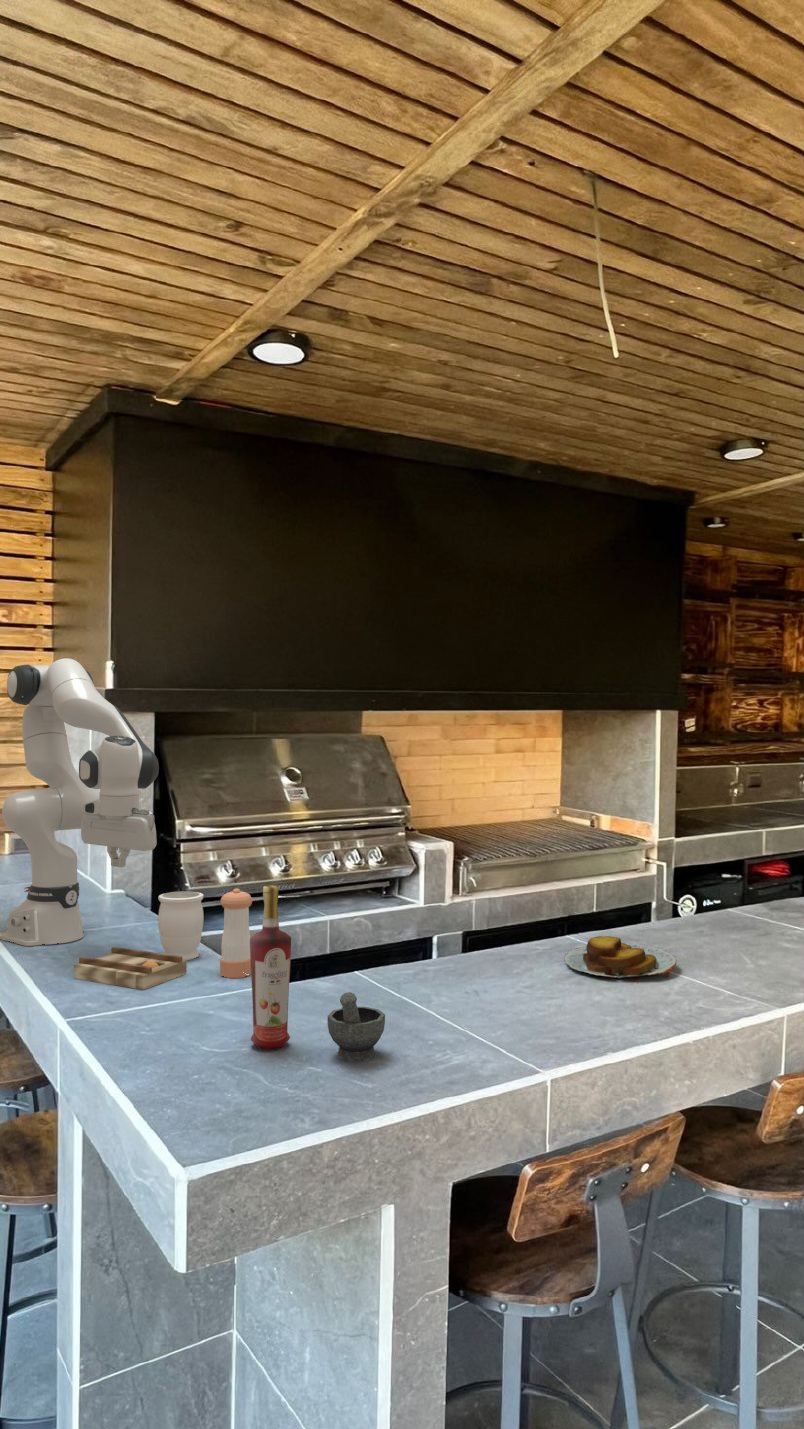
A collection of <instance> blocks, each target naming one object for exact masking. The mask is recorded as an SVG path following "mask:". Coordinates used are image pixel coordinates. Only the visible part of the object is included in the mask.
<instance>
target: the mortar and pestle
mask: <svg viewBox="0 0 804 1429" xmlns="http://www.w3.org/2000/svg"><path fill="white" fill-rule="evenodd" d="M357 1000H358V999H357V995H356V994H355V993H353V992H350V991H349V992H345V993H343V994H341V996H340V999H339V1002H340V1005H341V1006H342V1007H341V1008H338V1009H333V1010H332V1011H331V1012H330V1013H329V1014H328V1015H327V1030H328V1033H329V1035H330V1037H331V1039H332V1041H333V1043H335V1044H336V1045H337V1046H338V1052H337V1056H338V1057H339V1059H340V1060H342V1061H346V1062H351V1063H353V1062H354V1063H357V1062H361V1063H362V1062H366V1061H368V1060H372V1059H373V1058H374V1056H375V1048H374V1047H375V1045H376V1044H377V1043H378V1042H379V1041H380V1039H381V1037H382V1035H383V1033H384V1030H385V1024H386V1014H385V1013H384V1012H382V1011H381V1010H380V1009H378V1008H374V1007H368V1006H357Z"/></svg>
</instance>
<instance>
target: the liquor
mask: <svg viewBox="0 0 804 1429" xmlns="http://www.w3.org/2000/svg"><path fill="white" fill-rule="evenodd" d="M262 891H263V892H262V897H263V903H264V908H263V916H262V929H261V931H257V932H255V934H254V935H252V936H250V937H251V938H250V960H251V975H250V976H251V978H250V979H251V991H252V992H251V995H252V997H251V998H252V1024H253V1025H252V1028H253V1029H252V1033H253V1034H252V1035H251V1037H250V1041H251V1042H252V1043H253V1044H254V1045H255V1046H256V1047H258V1048H259V1049H261V1050H266V1051H274V1050H279V1049H281V1048H283V1047H284V1046H285V1044H287V1042H289V1040H290V1039H291V1036H290V1035H289V1032H288V1026H289V1025H288V1024H289V1023H288V1020H289V1013H288V1012H289V997H290V996H289V991H290V978H291V961H292V960H291V959H292V958H291V957H292V956H291V955H292V936H290V935H289V933H287V932H285V931H283V930H280V924H279V923H280V921H279V912H278V910H279V909H278V901H279V885H265V886H262Z"/></svg>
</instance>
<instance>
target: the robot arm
mask: <svg viewBox="0 0 804 1429" xmlns="http://www.w3.org/2000/svg"><path fill="white" fill-rule="evenodd" d="M6 692H7V696H8V697H9V699H10V700H11V702H13V704H18V705H23V706H26V707H25V708H24V710H23V712H22V725H21V726H22V728H21V730H22V735H21V736H22V743H23V752H24V758H25V759H24V760H25V767H26V769H27V771H28V772H29V773H30V775H31V777H32V776H33V777H34V778H35V779H38V780H39V781H42V782H43V783H45V784H47V786H49V788H40V789H39V788H38V789H26V790H21V791H17V792H14V793H11V794H9V795H8V796H7V797H6V798H5V800H4V802H3V805H2V809H1V816H2V819H3V822H4V824H5V826H6V827H7V828H8V829H9V830H10V831H12V832H13V833H14V834H16V835H17V836H19V838H21V840H22V841H23V842H24V843H25V845H26V847H27V850H28V852H29V856H30V862H31V864H30V866H31V885H30V886H26V887H24V888H23V889H24V893H26V892H27V896H26V899H25V900H24V901H23V902H22V903H21V904H19V905H18V906H17V907H16V908H15V909H14V910H12V911H11V912H10V913H9V915H8V917H7V921H6V922H7V923H6V930H3V931H1V932H0V940H2V941H6V942H9V941H10V943H13V942H14V943H13V944H16V945H17V944H18V945H21V946H24V947H32V946H41V945H42V944H45V945H57V943H59V944H65V943H71V942H74V941H78V940H80V939H83V938H84V936H85V935H84V927H83V925H82V918H81V911H80V909H81V908H80V903H79V900H78V899H79V897H80V883H79V882H78V856H77V852H75V850H74V849H73V848H71V847H70V846H69V845H66V844H64V843H61V842H60V841H59V842H58V841H57V839H56V835H55V834H56V832H58V831H66V830H67V831H69V830H80V837H81V840H82V842H83V844H88V845H93V846H94V845H95V846H103V847H106V852H107V854H108V856H109V858H110V865H111V867H118V868H124V867H126V863H127V862H126V861H127V858H128V856H129V854H130V852H131V850H133V851H141V852H149V851H152V850H155V848H156V846H157V842H158V841H157V829H156V824H155V815H153V813H152V812H151V811H150V809H141V808H140V790H139V789H143V790H144V789H147V788H148V787H149V786H151V785H152V784H153V783H154V782H155V781H156V780H157V777H158V776H159V769H160V767H159V766H160V765H159V764H160V763H159V760H158V757H157V756H156V755H155V753H154V752H153V750H151V749H150V748H149V746H147V745H146V743H144V742H143V741H142V739H141V737H140V735H138V733H137V732H136V730H135V729H134V727H133V726H132V725H131V723H130V721H129V720H128V719H127V717H126V716H125V715H124V713H123V712H122V710H120V709H119V708H118V707H117V706H115V705H114V704H112V703H111V702H110V701H108V700H107V699H105V697H103V696H102V694H100V692H99V691H98V690H97V689H96V686H95V685H94V680H93V677H92V675H91V673H90V672H89V671H88V670H86V669H85V668H84V667H83V665H82V664H81V663H80V662H78V661H77V660H75V659H73V658H68V657H67V658H60V659H57V660H55V661H54V662H52V663H51V664H50V665H47V664H46V665H45V664H35V665H34V664H33V665H31V664H22V665H21V664H20V665H17V666H16V665H15V666H14V667H13V668H12V669H11V670H10V671H9V673H8V675H7V680H6ZM65 724H67V725H68V726H71V727H74V728H77V729H85V730H90V731H94V732H99V733H102V734H104V735H106V736H105V737H104V738H103V739H102V741H101V745H99V746H98V747H96V748H93V749H89V750H87V751H86V752H85V753H84V754H83V755H82V756H81V757H80V759H79V763H78V764H79V765H78V771H77V770H76V769H75V767H74V764H73V761H72V756H71V752H70V747H69V742H68V735H67V730H66V726H65ZM117 851H118V852H117ZM118 853H120V854H119V855H118ZM25 889H26V890H25Z"/></svg>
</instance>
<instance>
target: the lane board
mask: <svg viewBox="0 0 804 1429" xmlns="http://www.w3.org/2000/svg"><path fill="white" fill-rule="evenodd" d="M147 961H154V962H156V963H157V964H158V967H155V968H153V969H152V967H147V966H142V965H143V964H144V963H145V962H147ZM187 962H188V960H182V957H181V956H174V955H167V954H164V953H162V952H161V953H159V952H154V951H153V952H152V951H146V950H139V949H131V948H125V947H118V946H112V947H110V952H109V953H106V954H104V955H99V956H97V957H87V956H79V957H78V962H77V963H74V964H73V979H78V980H82V981H83V980H84V981H89V982H96V983H100V984H107V985H113V986H118V987H124V988H129V989H130V988H131V989H137V990H142V991H145V990H147V989H150V988H152V987H155V986H158V985H162V984H164V983H166V982H169V981H171V980H174V979H176V977H177V978H179V977H182V976H184V974H185V975H187V974H188V973H187V971H188V970H187V969H188V966H187V964H188V963H187ZM186 973H187V974H186ZM181 975H182V976H181Z"/></svg>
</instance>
